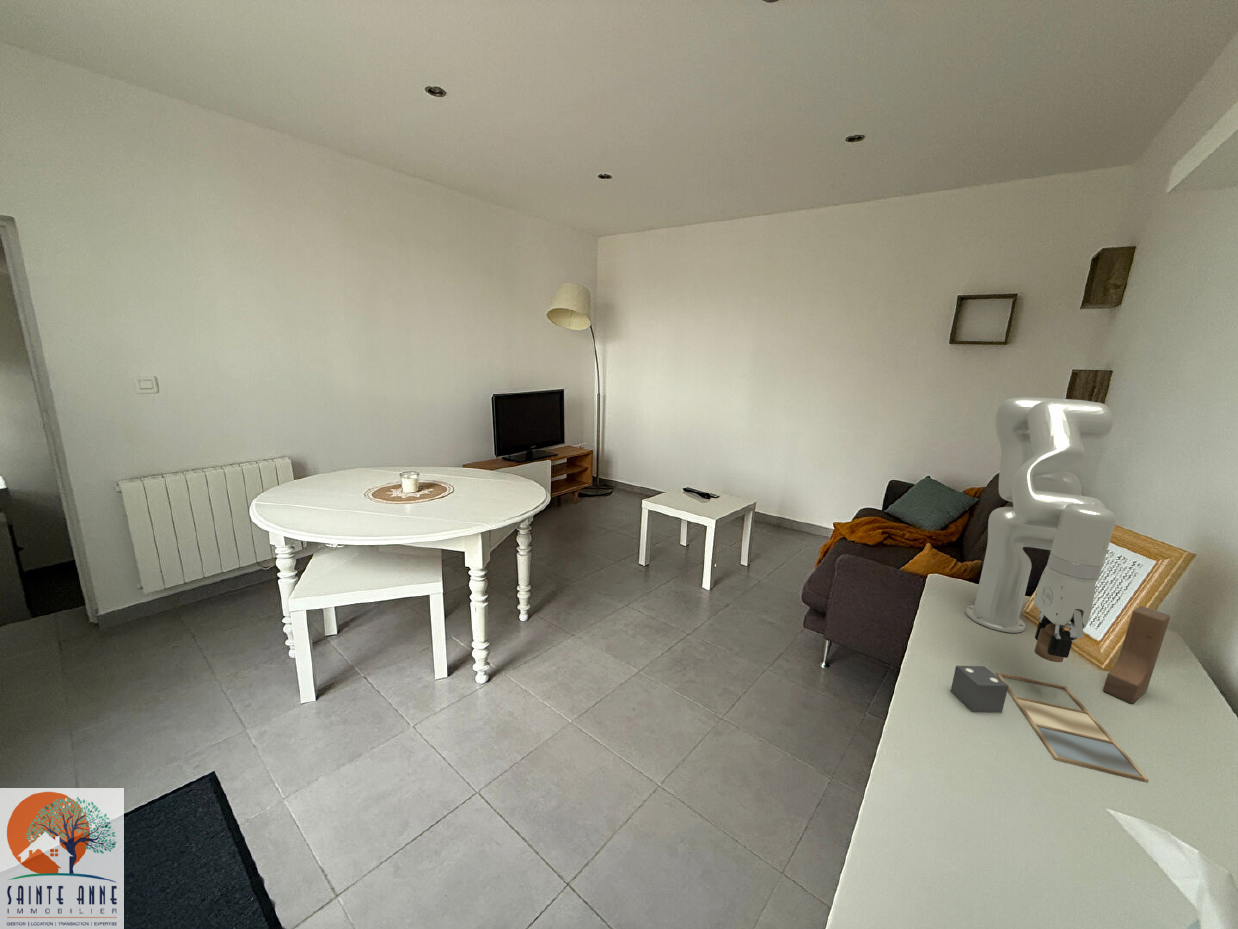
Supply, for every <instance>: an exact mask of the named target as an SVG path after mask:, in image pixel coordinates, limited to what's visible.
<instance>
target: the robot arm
mask: <svg viewBox="0 0 1238 929" xmlns="http://www.w3.org/2000/svg"><path fill="white" fill-rule="evenodd" d="M995 414H996V415H995V421H994V422H995V424H994V425H995V430H996V434H997V438H998V442H999V447H1000V464H999V473H998V494H999V496H1000V497H1001V499H1003V500H1005V501H1008V502H1010V503H1011V502H1012V506H1003V507H1002V506H1001V507H997V508H995V509H994V510H992V511H991V513H990V514H989V516H988V517H989V518H988V524H987V527H988V528H987V543H986V544H987V546H986V551H985V556H984V561H983V564H982V569H981V574H980V578H979V583H978V587H977V593H976V596H975V601H974V604H972V605H971V604H970V605H968V606H967V607H966V608H965V614H966V615H967V617H968V618H970V619H971V620H972V621H973V622H976V623H977V624H980V625H981V626H984V627H986V628H989V629H992V630H995V631H999V632H1003V633H1010V634H1013V633H1014V634H1015V633H1016V634H1019V633H1022V632H1024V631H1025V629H1026V624H1025V622H1024V621H1023V620H1022V619H1021V618H1020V616H1021V611H1022V607H1023V603H1024V599H1025V595H1026V591H1027V587H1028V583H1029V580H1030V575H1031V570H1032V561H1031V558H1030V557H1029V556H1028V554H1027V553H1026V552H1025V551H1024V549H1023V548H1025V547H1026V548H1035V549H1041V550H1048V551H1050V553H1049V555H1048V560H1047V564H1046V566H1045V568H1044V570H1043V571H1042V573H1041V576H1040V579H1039V581H1038V583H1037V587H1036V588H1035V589H1036V590H1035V592H1034V593H1035V594H1034V597H1033V601H1032V602H1033V604H1034V606H1035V607H1036V608H1037V609H1038V610H1039V612H1040V613H1039V616H1038V624H1037V628H1036V632H1035V635H1034V639H1035V640H1036V641H1037V640H1038V636H1039V633H1040V629H1041V628H1045V627H1046V625H1048V624H1050V623H1053V624H1055V625H1056V628H1055V636H1051V640H1050V643H1049V647H1048V650H1047V652H1048V654H1049V655H1054V656H1059V657H1064V658H1069V656H1070V651H1071V648H1072V645H1073V643H1074V642H1075V641H1076V640H1077V639H1083V638H1084V629H1085V628H1086V627H1087V625H1088V623H1089V621H1090V620H1089V619H1090V617H1091V613H1092V609H1093V604H1094V600H1095V594H1096V593H1095V592H1096V591H1095V590H1096V582H1098V581H1099V579H1100V576H1101V573H1102V572H1101V571H1102V569H1103V566H1104V562H1105V559H1106V555H1107V552H1108V549H1109V546H1110V543H1111V538H1112V535H1113V532H1114V529H1115V527H1116V526H1115V525H1116V521H1117V517H1116V514H1115V513H1114V512H1112V511H1111V510H1109V509H1107V507H1106V506H1105V505H1104V502H1102V501H1101V500H1100V499H1098V498H1096V497H1092V496H1085V495H1082V485H1081V482H1080V480H1079V478H1078V477H1077V475H1076V474H1074V473H1071V472H1069V471H1067V470H1070V469H1073V468H1075V467H1077V466H1078V465H1080V464H1081V463H1082V462H1083V461H1084V459H1085V457H1086V452H1085V449H1084V445H1083V444H1084V443H1083V440H1092V441H1094V440H1095V441H1096V440H1101V439H1104V438H1106V437H1107V436H1108V435H1109V434H1110V433H1111V431H1112V429H1113V426H1114V416H1113V412H1112V411H1111V409H1110V408H1109V406H1107V405H1106V404H1104V403H1102V402H1097V401H1096V402H1095V401H1089V400H1083V399H1071V398H1067V399H1066V398H1050V397H1037V396H1035V397H1032V396H1030V397H1029V396H1021V397H1013V398H1012V397H1011V398H1008V399H1004V401H1002V402H1001V403H1000V404H999V405H998V407H997V410H996V413H995ZM1062 627H1063V628H1064V629H1065V628H1066V629H1068V630H1066V629H1065V631H1063V632H1062ZM1064 658H1063V659H1064Z"/></svg>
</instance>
